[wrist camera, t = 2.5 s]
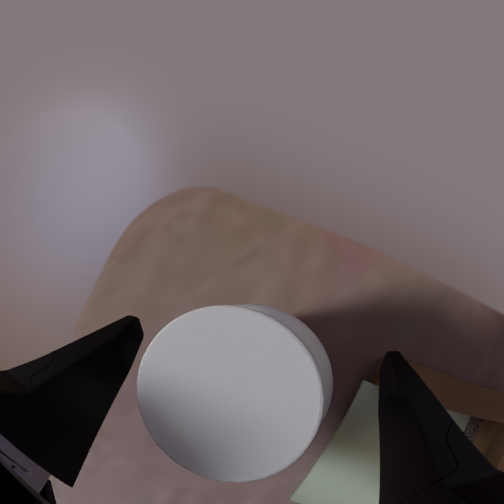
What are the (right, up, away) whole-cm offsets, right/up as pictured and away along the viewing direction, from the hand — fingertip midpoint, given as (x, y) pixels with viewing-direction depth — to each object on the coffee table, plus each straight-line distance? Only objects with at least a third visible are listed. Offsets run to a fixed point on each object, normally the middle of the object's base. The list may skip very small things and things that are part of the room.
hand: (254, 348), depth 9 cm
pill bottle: (+1, -4, +6) cm, 7 cm away
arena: (+10, -10, +2) cm, 14 cm away
